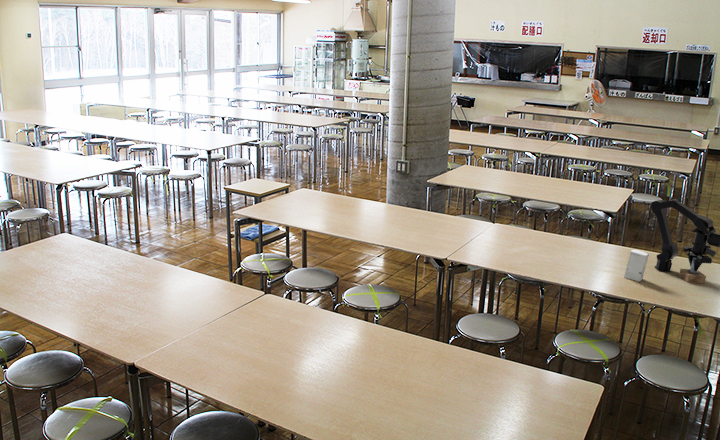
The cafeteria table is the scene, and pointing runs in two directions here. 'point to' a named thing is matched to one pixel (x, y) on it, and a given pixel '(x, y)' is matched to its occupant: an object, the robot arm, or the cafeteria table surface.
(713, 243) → the robot arm
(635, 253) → the skincare box
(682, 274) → the socket block
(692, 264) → the peg
